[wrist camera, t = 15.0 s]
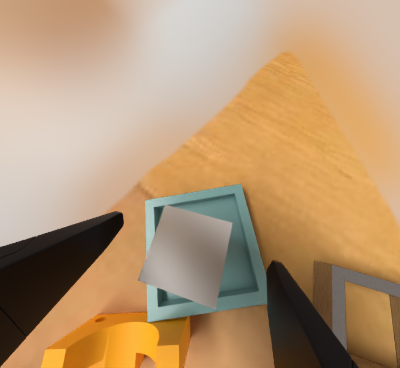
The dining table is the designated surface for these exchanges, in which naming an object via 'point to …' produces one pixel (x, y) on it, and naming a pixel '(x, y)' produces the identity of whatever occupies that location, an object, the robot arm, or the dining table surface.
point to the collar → (335, 302)
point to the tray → (235, 258)
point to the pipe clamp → (122, 343)
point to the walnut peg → (188, 255)
